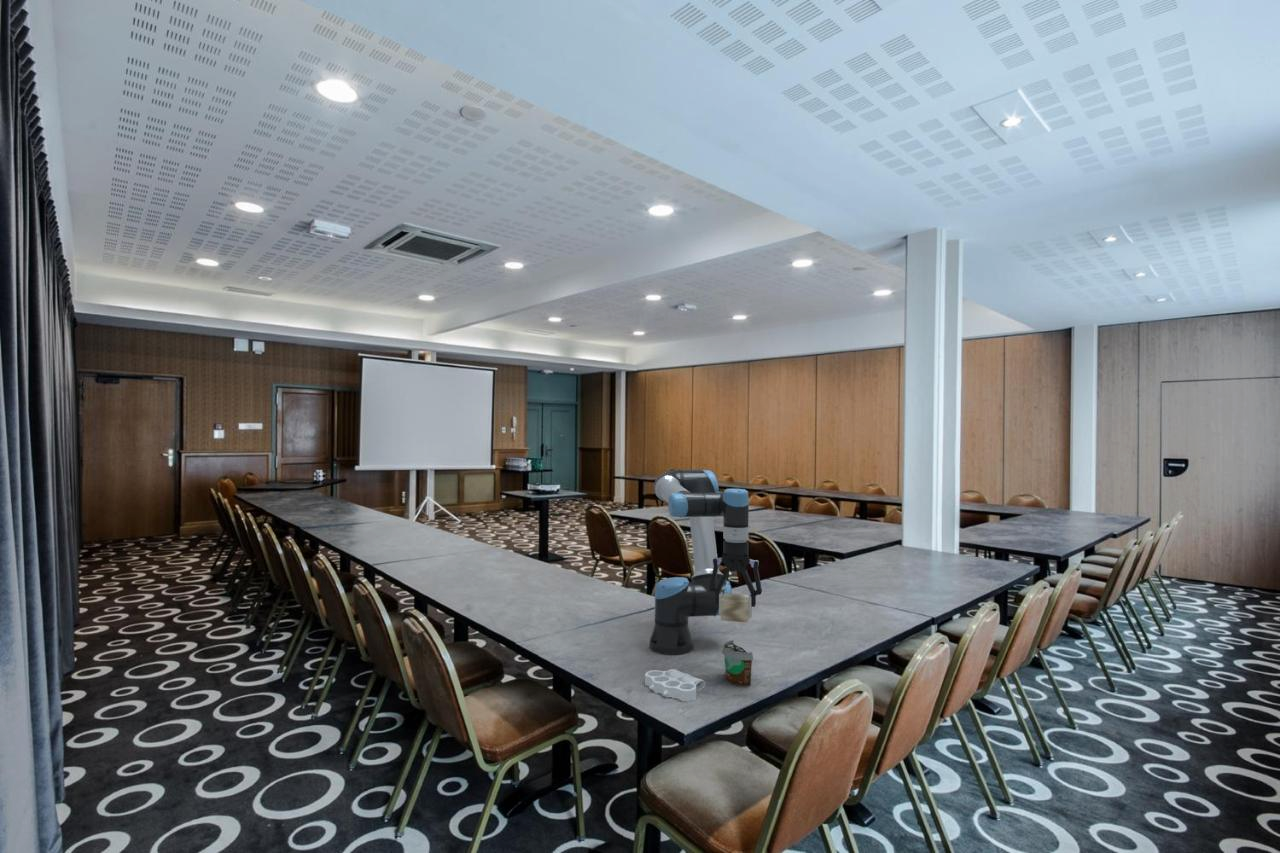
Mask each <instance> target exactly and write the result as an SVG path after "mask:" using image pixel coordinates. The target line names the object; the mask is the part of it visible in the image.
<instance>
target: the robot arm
mask: <svg viewBox="0 0 1280 853" xmlns="http://www.w3.org/2000/svg"><path fill="white" fill-rule="evenodd" d="M719 490H720V489H719V483H718V480H717V477H716V475H715V473H714V472H713V471H711V470H707V469H672V470H668V471H665V472H663V473H661V474H660V475H659V476H658V477H657V478H656V479H655V481H654V484H653V491H654V494H655V496H656V497H657V498H658V499H659V500H661V501H663V502H666V503H667V508H668V513H669V516H670V517H673V518H682V519H683V518H689V523H690V524H689V525H690V534H691V543H692V546H691V547H692V555H693V563H694V564H693V565H694V574H693V575H692V576H691V581H689V579H688V578H687V577H680V576H675V577H668V578H663V579H661V580H659V581H658V582H657V583H656V584H655V587H654V588H655V589H654V595H653V597H654V626H653V629H652V632H651V636H650V638H649V649H650V650H652V651H653V652H654V653H655V652H656V653H659V654H662V655H671V656H672V655H684V654H688V653H689V652H692V651H693V649H694V639H693V637H692V633H691V629H690V626H689V617H711V616H712V617H716V616H719V617H721V598H722V596H723V594H733V593H732V586H731V583H730V581H728V580H727V577H728V575H729V573H731V572H732V573H733V572H736V573H741V575H742V577H743V579H744V581H745V583H746V586H747V588H748V591H749V593H750V594H748V595H749V620H752V618H753V608H756V605H757V600H756V599H757V596H759V595H762V592H763V589H762V583H761V578H760V573H759V566H760V565H759V563H760V561H759V560H758V559H755V560H754V559H751V558H750V556H749V541H748V540H749V528H750V526H749V517H750V516H749V510H750V509H749V506H750V505H749V504H750V499H749V491H748V490H746V489H744V488H743V489H742V488H726V489H724V490H723V491H719ZM715 517H723V518H722V519H723V521H722V522H723V528H722V529H723V531H722V532H723V533H722V534H723V535H722V536H723V537H722V538H723V542H722V543H723V544H722V545H723V546H722V549H723V550H722V553H723V554H722V557H718V553H717V552H718V551H717V543H716V542H717V541H716V534H715V527H714V526H715V525H714V518H715ZM721 563H723V565H724V566H725V569H724V570H723V573H722V571H720V568H719V567H720V565H721ZM749 564H750V566H751V568H752V570H753V576H754V582H755V586H754V585H753V582H752V579H751V576H750V575H749V573H748V569H747V567H748V566H749ZM755 588H756V589H755Z"/></svg>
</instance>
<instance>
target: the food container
mask: <svg viewBox="0 0 1280 853" xmlns="http://www.w3.org/2000/svg"><path fill="white" fill-rule="evenodd" d="M721 650H722V651H721V653H722V655H724V670H725V672H724V673H725V681H727V682H728V683H729V684H732V685H735V686H742V687H745V686H746V687H747V686H751V681H752V680H751V678H752V667H753V665H752V664H753V663H752V662H753V660H754V655H753V652H752V651H750V652H747V651H746V650H745V649H744V648H743V647H741V646H738V645H736V644H735V643H734V640H733V639H732V640H727V641H725V642H724V644H723V646H722V649H721Z"/></svg>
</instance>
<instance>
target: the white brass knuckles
mask: <svg viewBox="0 0 1280 853" xmlns="http://www.w3.org/2000/svg"><path fill="white" fill-rule="evenodd" d="M646 685H647V686H646ZM644 686H646V687H648V686H650V687H648V689H650V690H651V691H652V690H653V691H654V692H653V691H652V692H653V693H655V692H658V693H661V694H662V695H663V696H666V697H665V698H667V697H672V698H671V699H675V698H677V699H676V700H678V699H679V701H680V700H681V701H680V702H685V701H687V702H692V701H691V700H693V701H695V700H696V698H697V692H698V691H701V690H703V689H704V688H705V687H706V681H705V680H703V679H701V678H698V677H695V676H692V675H691V674H689V673H685V672H682V671H680V670H678V669H676V668H670V669H668V670H660V669H659V670H658V669H657V670H656V669H654V670H647V671H646V672H645V674H644ZM658 693H657V694H658ZM661 694H660V695H661ZM662 695H661V696H662ZM663 696H662V697H663ZM694 699H695V700H694Z"/></svg>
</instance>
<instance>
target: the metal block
mask: <svg viewBox="0 0 1280 853" xmlns="http://www.w3.org/2000/svg"><path fill="white" fill-rule="evenodd" d="M749 595H750V594H736V593H732V594H723V596H722V598H721V616H720V621H721V622H722V621H724V622H735V623H736V622H737V623H749V620H750V619H749Z"/></svg>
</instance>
